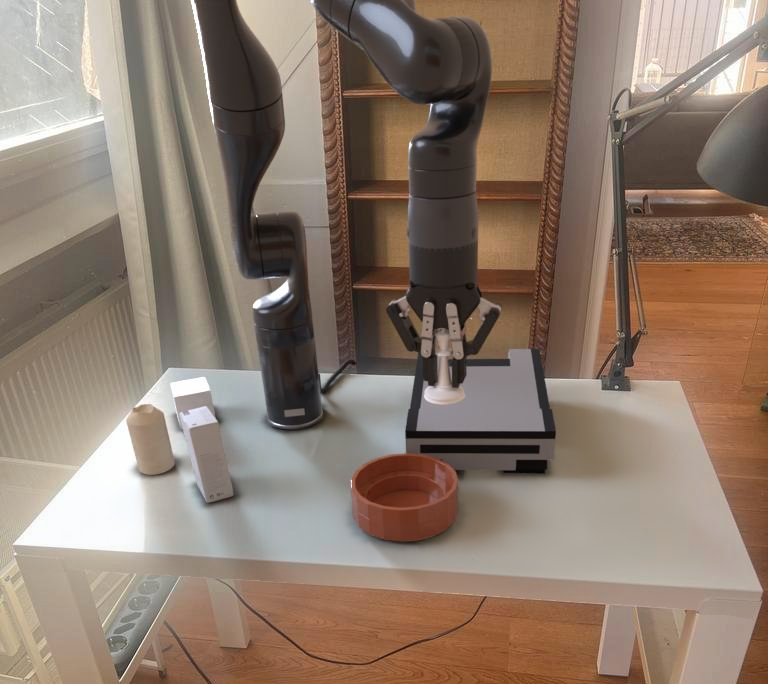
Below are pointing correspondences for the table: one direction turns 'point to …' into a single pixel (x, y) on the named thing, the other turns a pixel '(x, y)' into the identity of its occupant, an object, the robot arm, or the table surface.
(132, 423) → the candle
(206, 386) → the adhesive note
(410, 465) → the bowl
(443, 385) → the chess piece
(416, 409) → the game console
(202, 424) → the cosmetic box
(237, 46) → the robot arm
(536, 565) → the table surface
